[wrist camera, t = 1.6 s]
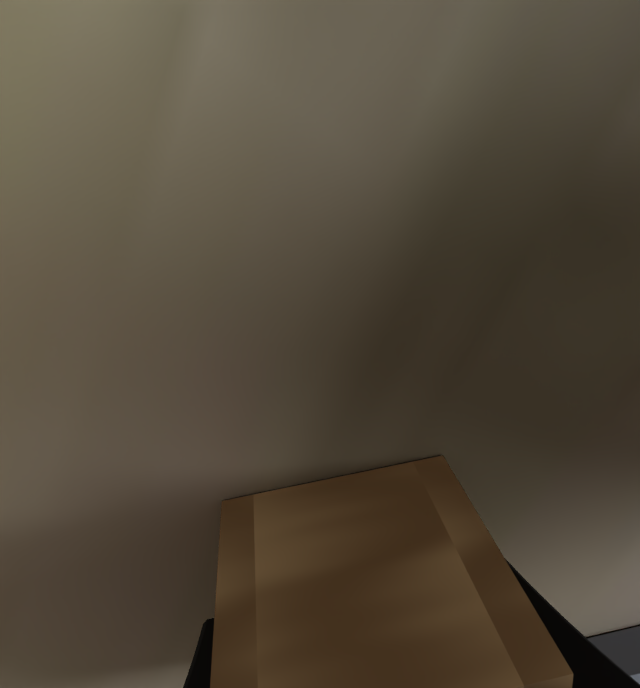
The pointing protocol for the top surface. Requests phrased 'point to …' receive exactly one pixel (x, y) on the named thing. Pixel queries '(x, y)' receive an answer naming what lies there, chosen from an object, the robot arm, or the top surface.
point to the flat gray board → (622, 649)
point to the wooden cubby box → (372, 590)
